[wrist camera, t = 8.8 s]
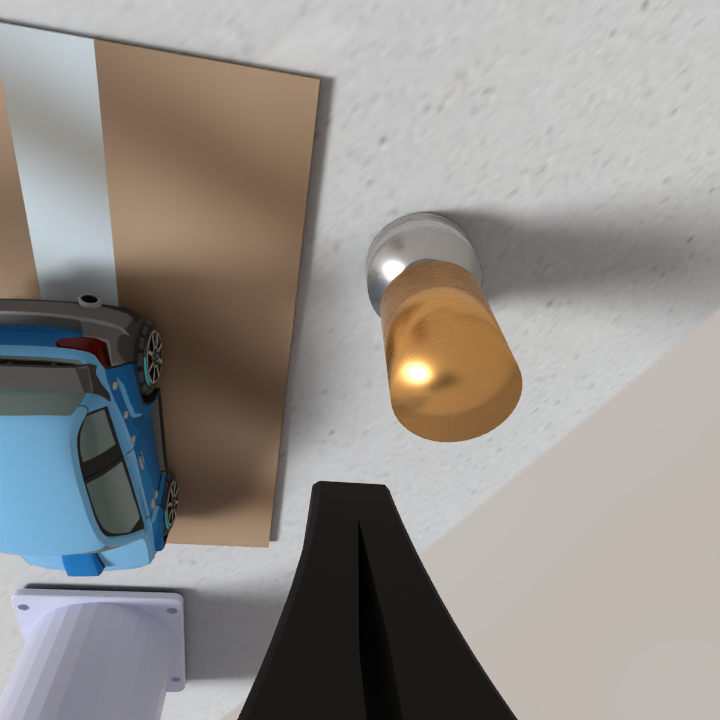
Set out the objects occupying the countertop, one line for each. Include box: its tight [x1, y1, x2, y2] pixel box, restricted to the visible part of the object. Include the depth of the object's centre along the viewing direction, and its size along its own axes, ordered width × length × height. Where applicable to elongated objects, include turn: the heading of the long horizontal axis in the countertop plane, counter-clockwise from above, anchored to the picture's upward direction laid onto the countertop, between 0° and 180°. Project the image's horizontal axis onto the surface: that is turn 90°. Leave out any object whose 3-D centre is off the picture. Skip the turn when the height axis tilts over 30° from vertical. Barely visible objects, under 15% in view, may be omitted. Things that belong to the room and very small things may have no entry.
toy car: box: [0, 293, 178, 576], centre depth 18 cm, size 6×12×6 cm, turn 175°
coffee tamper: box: [366, 213, 522, 442], centre depth 15 cm, size 4×4×7 cm
